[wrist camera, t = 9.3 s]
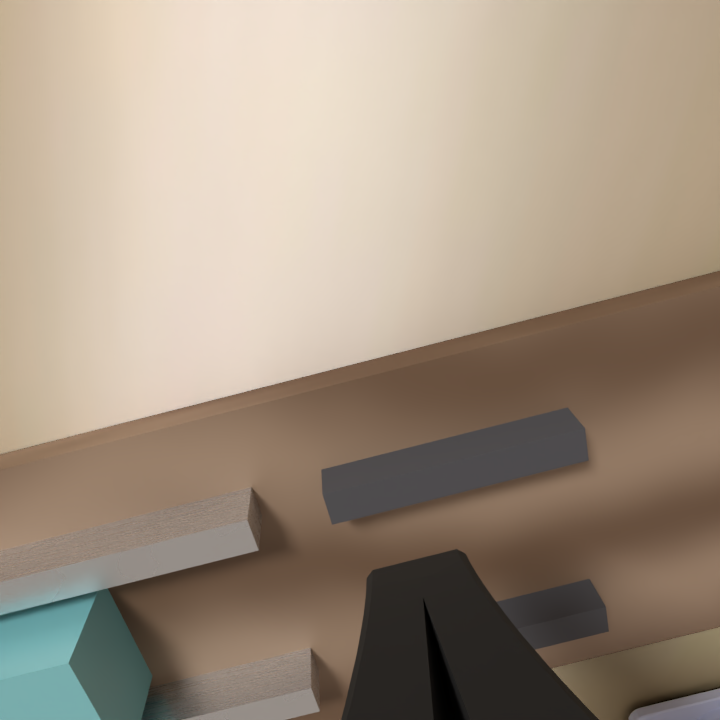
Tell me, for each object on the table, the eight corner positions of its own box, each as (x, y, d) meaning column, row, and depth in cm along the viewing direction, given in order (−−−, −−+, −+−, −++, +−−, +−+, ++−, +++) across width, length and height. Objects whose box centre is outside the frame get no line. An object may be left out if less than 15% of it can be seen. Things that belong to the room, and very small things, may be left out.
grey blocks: (592, 602, 21) (609, 631, 20) (379, 655, 21) (383, 686, 20) (567, 407, 18) (585, 428, 17) (321, 469, 18) (322, 494, 17)
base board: (742, 594, 22) (761, 616, 21) (-62, 792, 23) (-77, 822, 22) (740, 265, 18) (764, 275, 17) (-270, 523, 18) (-300, 546, 17)
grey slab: (318, 670, 21) (319, 711, 19) (-11, 751, 21) (-33, 797, 20) (251, 487, 18) (247, 520, 17) (-128, 582, 18) (-163, 623, 17)
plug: (152, 675, 20) (128, 767, 18) (-1, 714, 20) (-48, 811, 18) (102, 579, 19) (68, 663, 16) (-63, 620, 19) (-126, 711, 16)
